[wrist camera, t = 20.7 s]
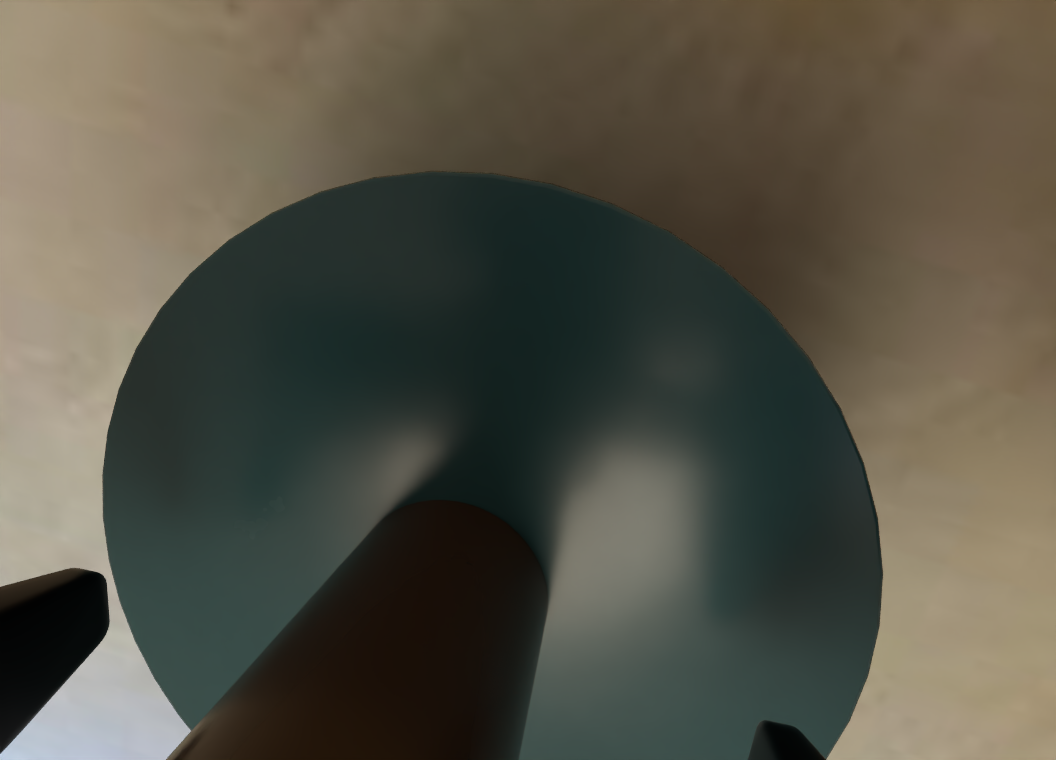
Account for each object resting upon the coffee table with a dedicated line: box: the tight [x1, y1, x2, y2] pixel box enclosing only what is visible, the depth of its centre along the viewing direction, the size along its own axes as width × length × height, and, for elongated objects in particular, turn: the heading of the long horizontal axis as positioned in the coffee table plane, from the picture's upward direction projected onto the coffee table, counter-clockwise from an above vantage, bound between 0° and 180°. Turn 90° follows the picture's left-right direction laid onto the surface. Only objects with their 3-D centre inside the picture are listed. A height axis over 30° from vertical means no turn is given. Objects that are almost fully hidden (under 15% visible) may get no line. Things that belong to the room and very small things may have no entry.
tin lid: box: [103, 171, 883, 760], centre depth 7 cm, size 13×13×6 cm
